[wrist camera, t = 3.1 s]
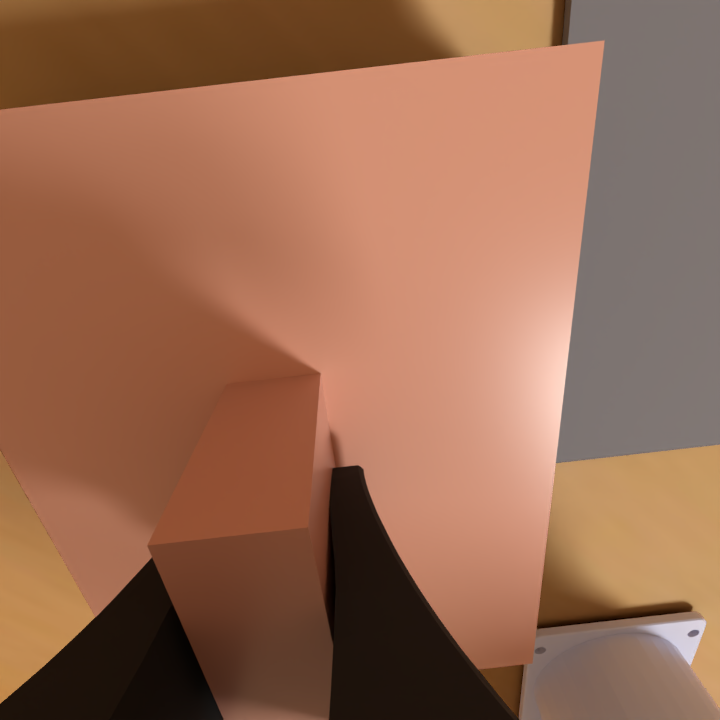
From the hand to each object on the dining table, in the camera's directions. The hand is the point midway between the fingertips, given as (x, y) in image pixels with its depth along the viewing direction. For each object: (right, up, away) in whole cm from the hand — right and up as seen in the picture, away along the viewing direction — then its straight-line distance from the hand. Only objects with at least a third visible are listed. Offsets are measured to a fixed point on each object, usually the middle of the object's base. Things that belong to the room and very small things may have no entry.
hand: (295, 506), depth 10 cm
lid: (0, +1, +1) cm, 1 cm away
